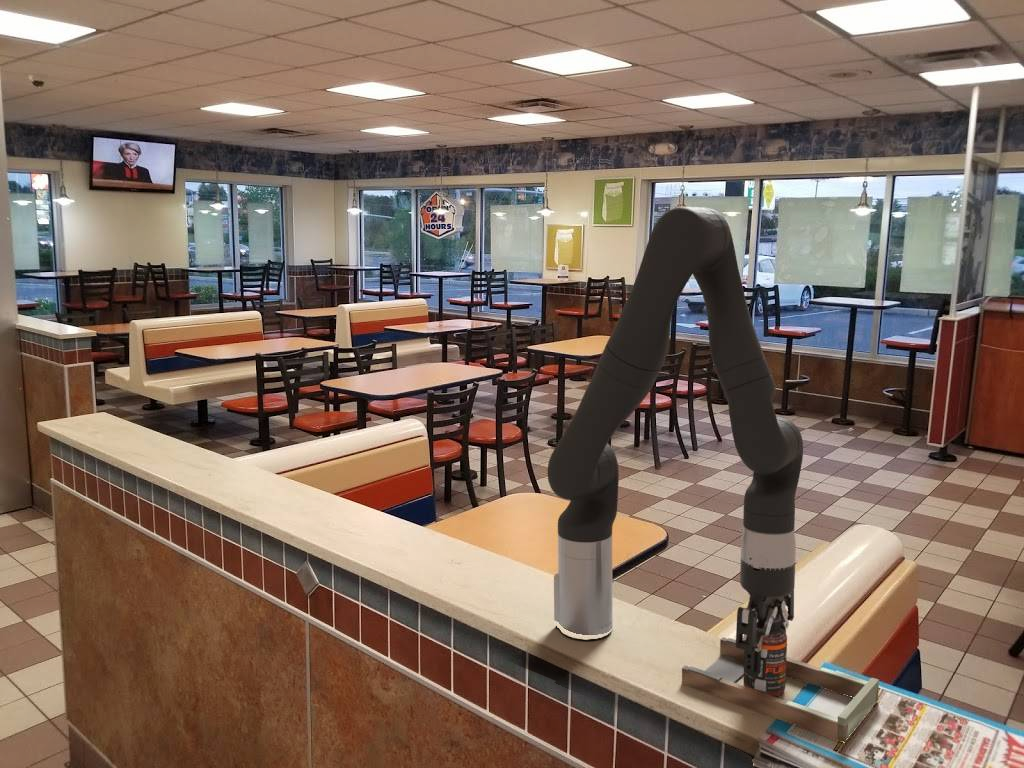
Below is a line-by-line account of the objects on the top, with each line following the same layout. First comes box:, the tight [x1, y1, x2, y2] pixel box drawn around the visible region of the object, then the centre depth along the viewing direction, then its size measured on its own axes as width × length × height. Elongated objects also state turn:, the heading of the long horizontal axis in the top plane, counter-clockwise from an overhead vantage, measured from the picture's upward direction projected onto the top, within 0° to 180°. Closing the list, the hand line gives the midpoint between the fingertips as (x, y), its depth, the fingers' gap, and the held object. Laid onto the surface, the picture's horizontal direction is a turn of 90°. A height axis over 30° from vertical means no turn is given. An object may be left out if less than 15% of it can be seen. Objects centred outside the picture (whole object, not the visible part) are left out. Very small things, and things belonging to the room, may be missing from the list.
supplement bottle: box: [742, 615, 788, 697], centre depth 119 cm, size 6×6×11 cm
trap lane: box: [681, 637, 880, 742], centre depth 118 cm, size 24×13×4 cm, turn 48°
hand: (764, 662), depth 119 cm, fingers open, 8 cm apart
